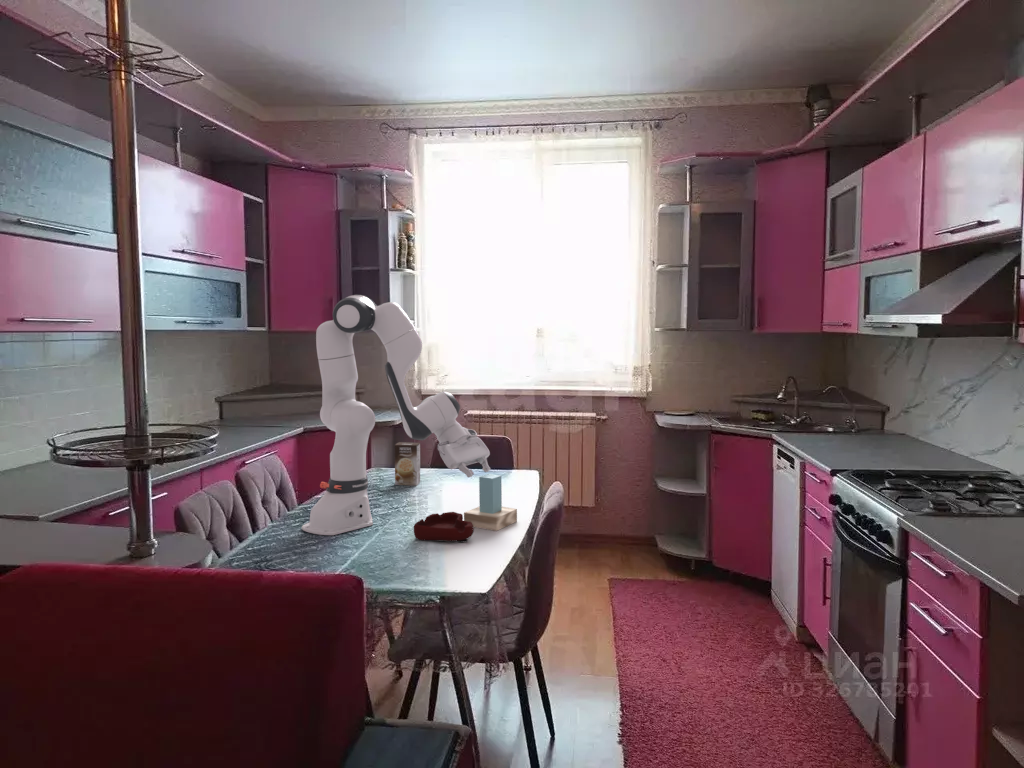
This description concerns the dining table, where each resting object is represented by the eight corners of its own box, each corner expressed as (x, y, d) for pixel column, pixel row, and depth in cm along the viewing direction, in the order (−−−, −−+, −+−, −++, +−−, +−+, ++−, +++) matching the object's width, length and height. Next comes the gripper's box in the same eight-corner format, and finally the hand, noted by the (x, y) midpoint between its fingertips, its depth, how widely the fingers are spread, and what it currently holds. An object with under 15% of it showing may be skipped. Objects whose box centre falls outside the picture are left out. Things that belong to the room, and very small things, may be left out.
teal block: (492, 513, 213) (492, 478, 212) (479, 511, 215) (479, 476, 214) (501, 510, 217) (501, 475, 216) (488, 507, 220) (488, 473, 219)
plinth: (496, 531, 208) (496, 518, 208) (464, 525, 214) (463, 512, 214) (516, 521, 218) (516, 508, 218) (485, 516, 225) (485, 504, 224)
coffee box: (394, 485, 269) (393, 444, 267) (398, 481, 275) (397, 441, 274) (417, 485, 268) (416, 445, 266) (421, 482, 274) (420, 442, 273)
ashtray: (407, 532, 209) (406, 515, 208) (458, 526, 215) (458, 510, 214) (421, 549, 192) (421, 532, 192) (477, 542, 198) (476, 525, 198)
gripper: (440, 437, 211) (466, 472, 207) (478, 429, 229) (502, 462, 224) (429, 450, 214) (454, 485, 209) (467, 442, 231) (491, 474, 227)
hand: (479, 473), depth 217 cm, fingers open, 8 cm apart
